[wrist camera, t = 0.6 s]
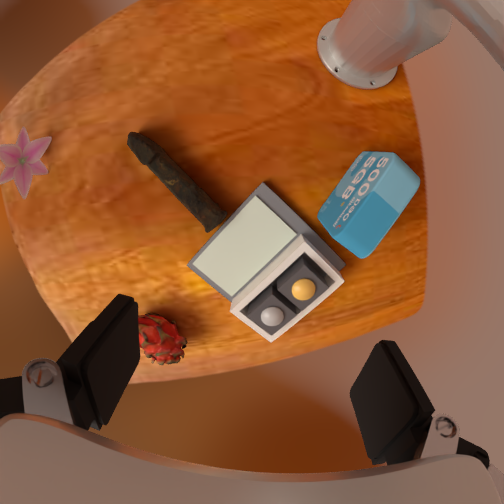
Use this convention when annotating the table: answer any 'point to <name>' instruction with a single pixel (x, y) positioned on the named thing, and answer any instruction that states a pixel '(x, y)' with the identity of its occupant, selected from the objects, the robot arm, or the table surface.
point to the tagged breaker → (301, 284)
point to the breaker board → (263, 255)
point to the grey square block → (271, 310)
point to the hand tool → (176, 181)
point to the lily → (23, 161)
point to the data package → (368, 201)
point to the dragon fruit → (160, 339)
